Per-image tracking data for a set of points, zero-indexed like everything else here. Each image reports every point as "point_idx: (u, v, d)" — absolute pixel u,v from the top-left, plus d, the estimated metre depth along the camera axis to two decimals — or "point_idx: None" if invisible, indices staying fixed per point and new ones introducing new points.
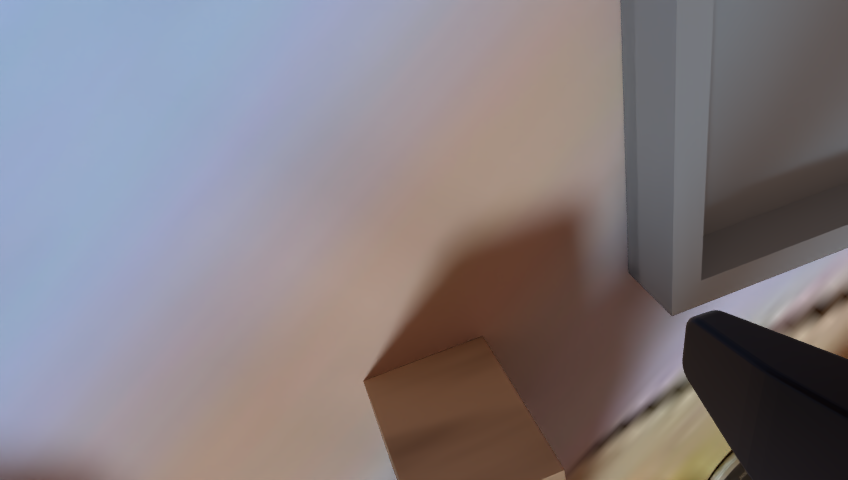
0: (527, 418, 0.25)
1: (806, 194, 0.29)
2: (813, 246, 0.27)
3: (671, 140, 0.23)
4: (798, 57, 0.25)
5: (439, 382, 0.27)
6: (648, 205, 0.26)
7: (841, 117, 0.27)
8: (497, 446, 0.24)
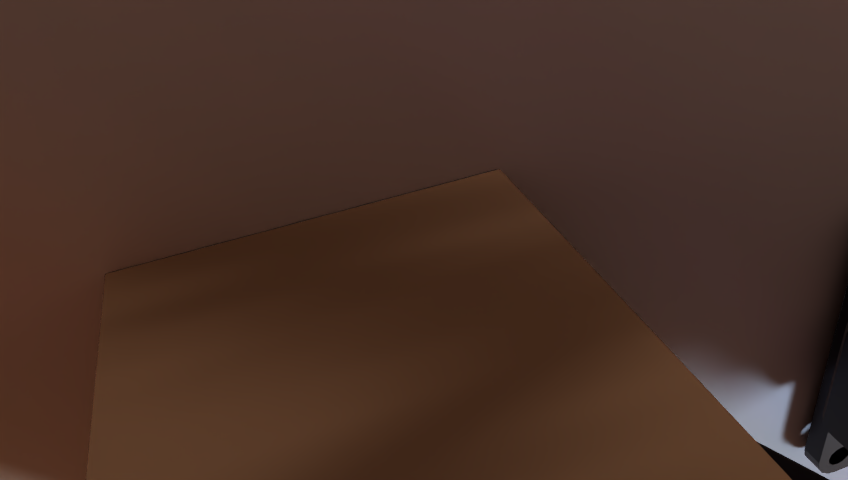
0: None
1: None
2: None
3: None
4: None
5: None
6: None
7: None
8: None
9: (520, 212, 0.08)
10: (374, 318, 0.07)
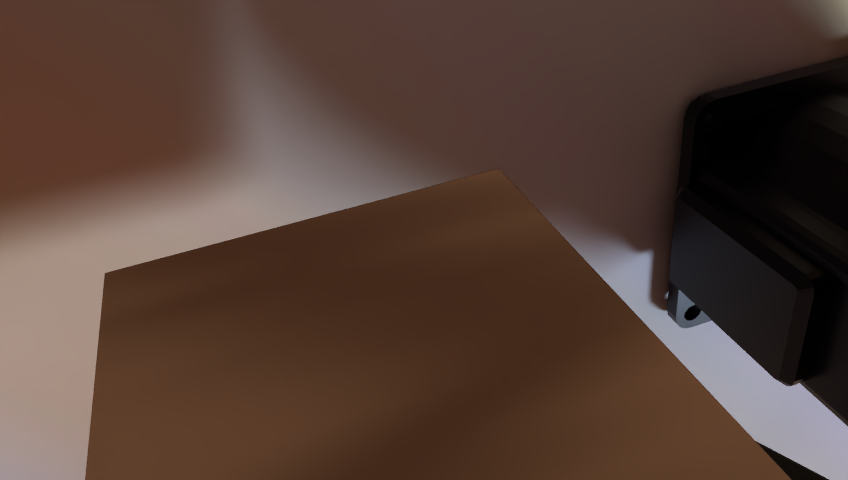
0: None
1: None
2: None
3: None
4: None
5: None
6: None
7: None
8: None
9: (519, 211, 0.08)
10: (373, 317, 0.07)
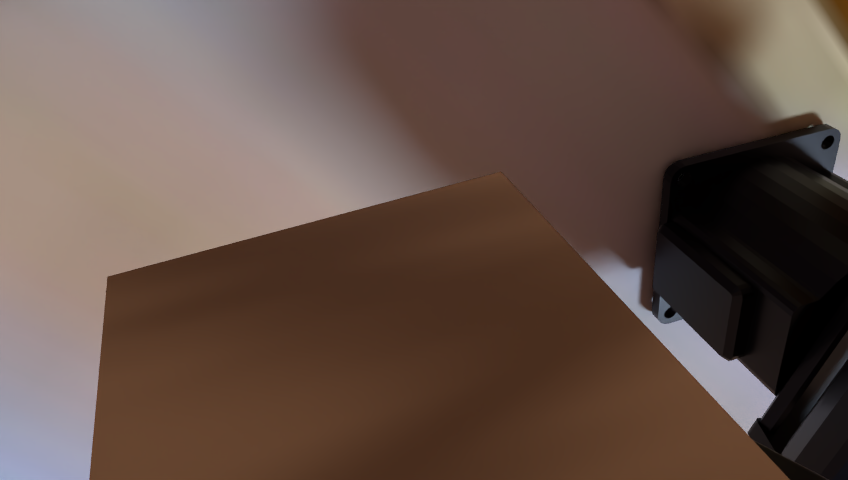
0: None
1: None
2: None
3: None
4: None
5: None
6: None
7: None
8: None
9: (520, 215, 0.09)
10: (375, 321, 0.07)
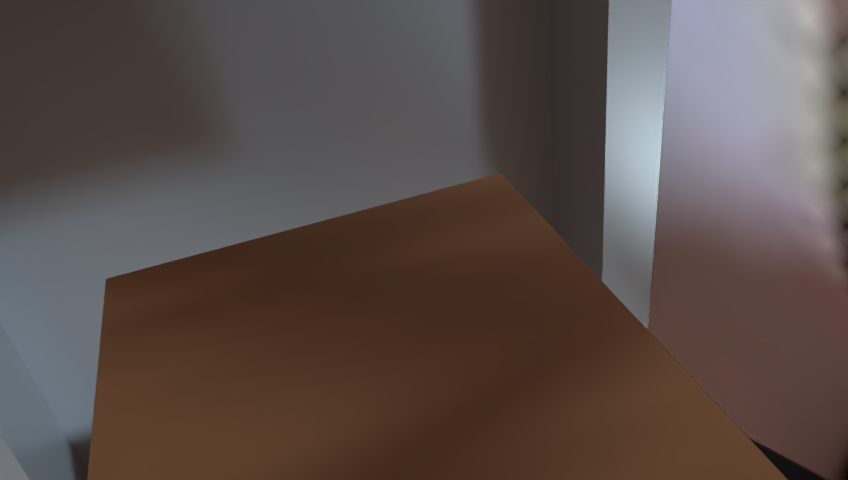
0: None
1: (544, 109, 0.15)
2: (624, 209, 0.14)
3: None
4: (266, 234, 0.15)
5: None
6: None
7: (398, 89, 0.14)
8: None
9: (521, 217, 0.08)
10: (375, 323, 0.07)
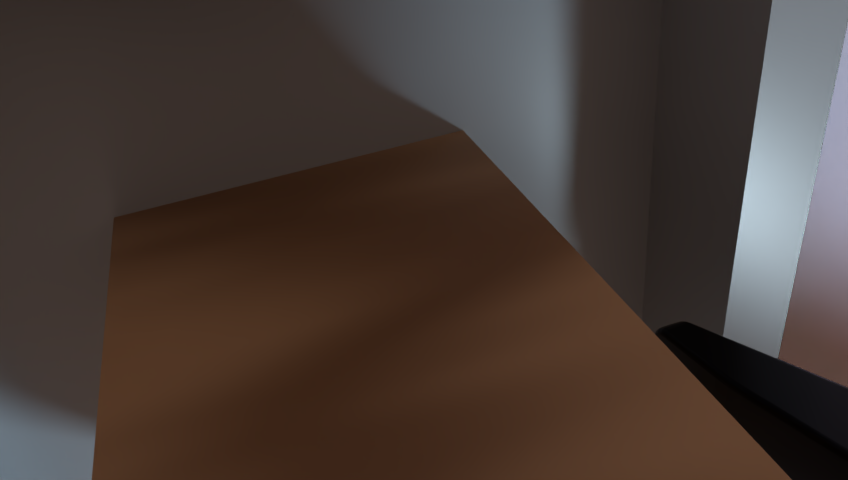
0: None
1: (642, 186, 0.12)
2: (748, 317, 0.11)
3: None
4: None
5: None
6: None
7: None
8: None
9: (476, 164, 0.10)
10: (346, 247, 0.08)
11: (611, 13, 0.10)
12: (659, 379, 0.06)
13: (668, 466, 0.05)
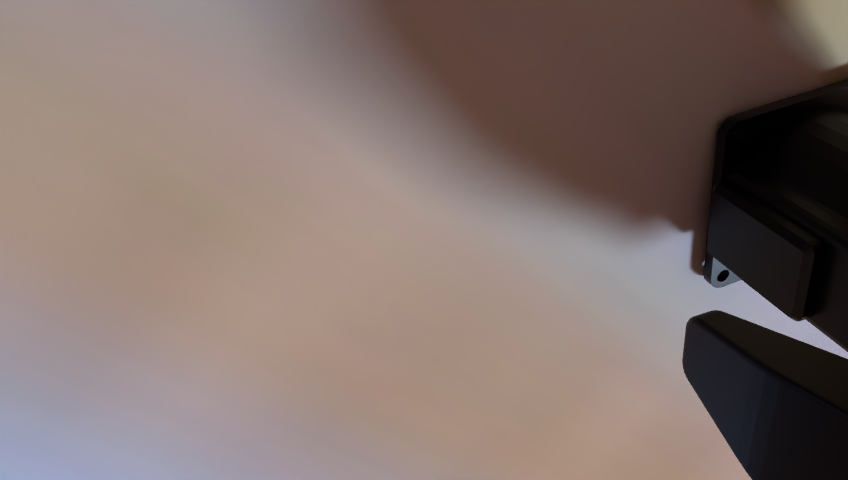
0: None
1: None
2: None
3: None
4: None
5: None
6: None
7: None
8: None
9: None
10: None
11: None
12: None
13: None
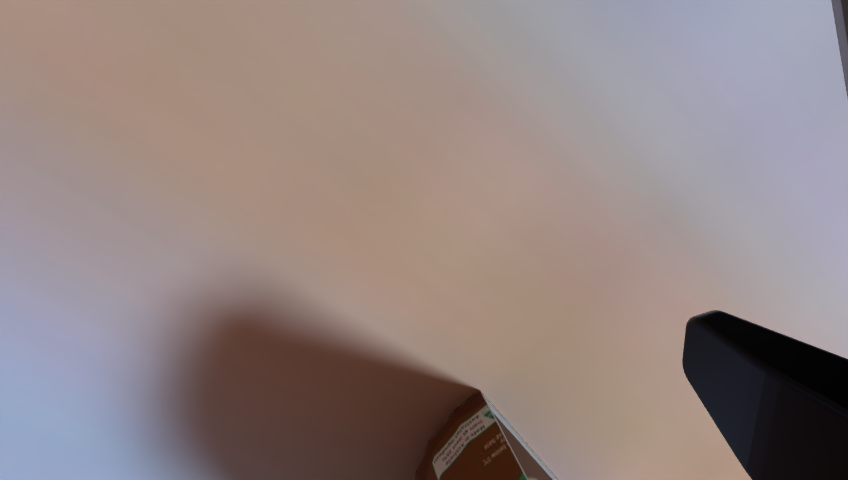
0: None
1: None
2: None
3: None
4: None
5: None
6: None
7: None
8: None
9: None
10: None
11: None
12: None
13: None
